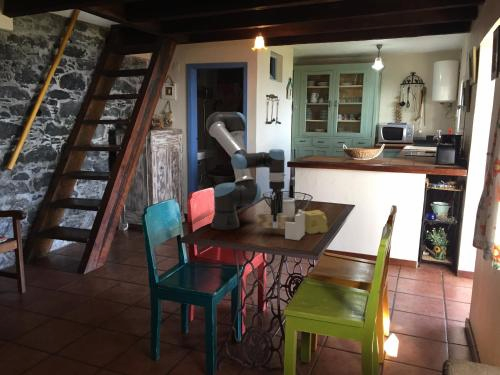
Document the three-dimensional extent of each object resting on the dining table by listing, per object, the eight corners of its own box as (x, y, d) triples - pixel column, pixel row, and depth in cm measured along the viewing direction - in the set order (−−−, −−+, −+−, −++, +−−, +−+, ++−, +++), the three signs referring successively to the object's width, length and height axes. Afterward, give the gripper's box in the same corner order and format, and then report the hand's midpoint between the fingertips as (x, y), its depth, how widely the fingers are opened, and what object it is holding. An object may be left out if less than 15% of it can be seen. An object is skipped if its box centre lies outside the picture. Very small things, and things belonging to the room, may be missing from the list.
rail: (257, 226, 213) (257, 215, 212) (260, 225, 217) (259, 213, 216) (295, 229, 205) (295, 217, 204) (297, 227, 209) (297, 215, 208)
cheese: (327, 232, 216) (328, 213, 214) (308, 234, 212) (309, 215, 211) (317, 227, 225) (318, 209, 224) (299, 229, 222) (299, 211, 220)
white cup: (293, 228, 224) (294, 201, 221) (274, 227, 226) (274, 200, 223) (295, 223, 234) (295, 197, 231) (277, 223, 236) (277, 196, 234)
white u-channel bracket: (284, 238, 205) (284, 210, 202) (291, 233, 215) (291, 206, 212) (299, 240, 202) (299, 211, 200) (305, 234, 212) (305, 207, 210)
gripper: (278, 183, 198) (278, 231, 202) (289, 178, 214) (289, 223, 217) (263, 182, 201) (264, 230, 205) (275, 178, 217) (275, 222, 220)
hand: (276, 226), depth 211 cm, fingers closed on rail, 4 cm apart
